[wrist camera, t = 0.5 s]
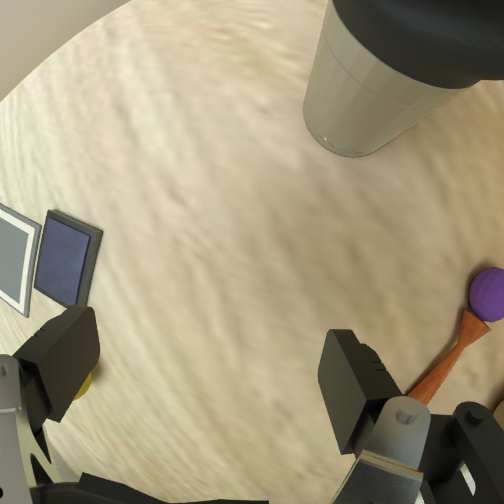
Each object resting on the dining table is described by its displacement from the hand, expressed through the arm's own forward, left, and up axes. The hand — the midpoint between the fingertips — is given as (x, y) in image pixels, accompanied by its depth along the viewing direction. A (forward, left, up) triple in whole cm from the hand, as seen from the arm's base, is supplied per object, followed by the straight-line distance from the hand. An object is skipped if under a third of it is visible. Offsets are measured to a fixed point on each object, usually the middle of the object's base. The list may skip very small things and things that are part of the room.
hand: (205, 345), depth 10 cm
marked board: (+11, -32, -20) cm, 39 cm away
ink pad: (+7, -20, -20) cm, 29 cm away
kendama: (+1, +25, -20) cm, 32 cm away
